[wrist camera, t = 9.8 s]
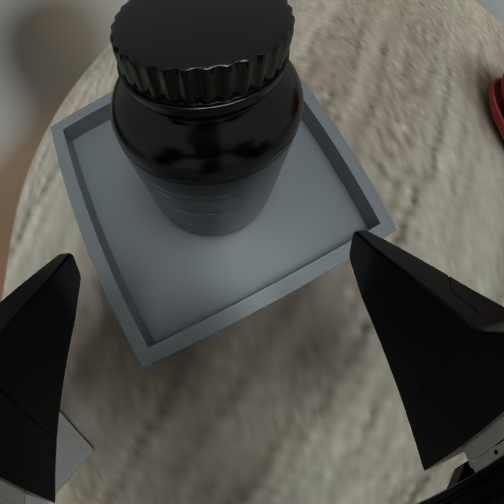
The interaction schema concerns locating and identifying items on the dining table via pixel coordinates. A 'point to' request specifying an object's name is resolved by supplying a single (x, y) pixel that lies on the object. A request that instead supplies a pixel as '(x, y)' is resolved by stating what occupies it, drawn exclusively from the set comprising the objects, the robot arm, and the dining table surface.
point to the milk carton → (66, 456)
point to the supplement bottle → (206, 104)
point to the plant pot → (497, 103)
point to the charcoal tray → (211, 246)
